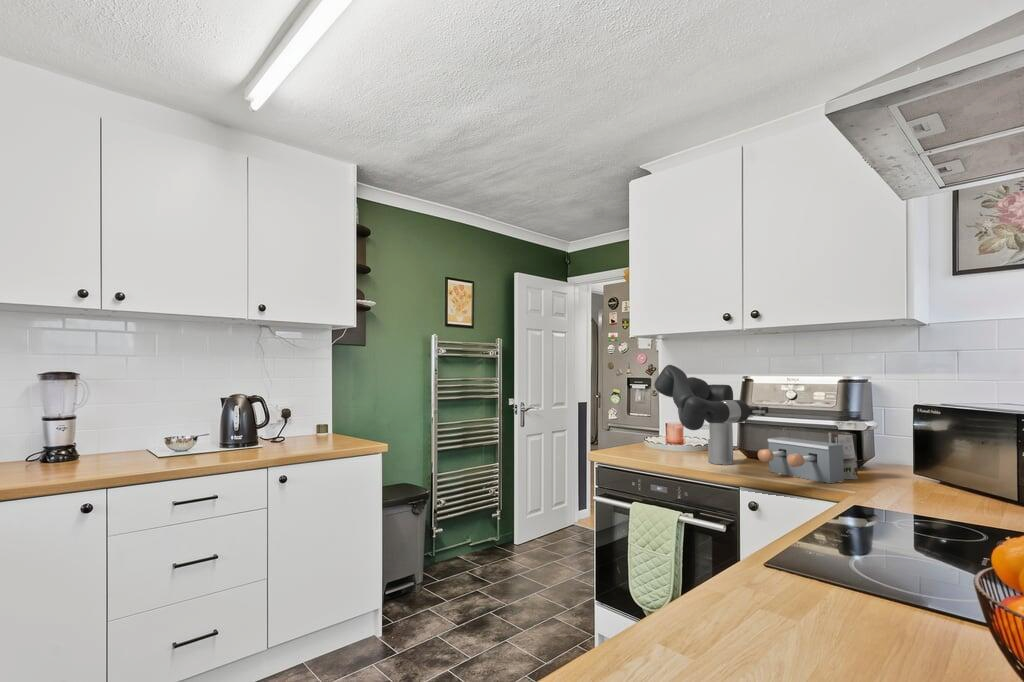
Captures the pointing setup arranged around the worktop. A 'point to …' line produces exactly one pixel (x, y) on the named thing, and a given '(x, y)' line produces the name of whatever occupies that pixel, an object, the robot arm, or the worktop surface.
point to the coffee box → (847, 452)
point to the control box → (822, 469)
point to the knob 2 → (799, 459)
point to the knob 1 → (769, 455)
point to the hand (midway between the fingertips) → (766, 410)
